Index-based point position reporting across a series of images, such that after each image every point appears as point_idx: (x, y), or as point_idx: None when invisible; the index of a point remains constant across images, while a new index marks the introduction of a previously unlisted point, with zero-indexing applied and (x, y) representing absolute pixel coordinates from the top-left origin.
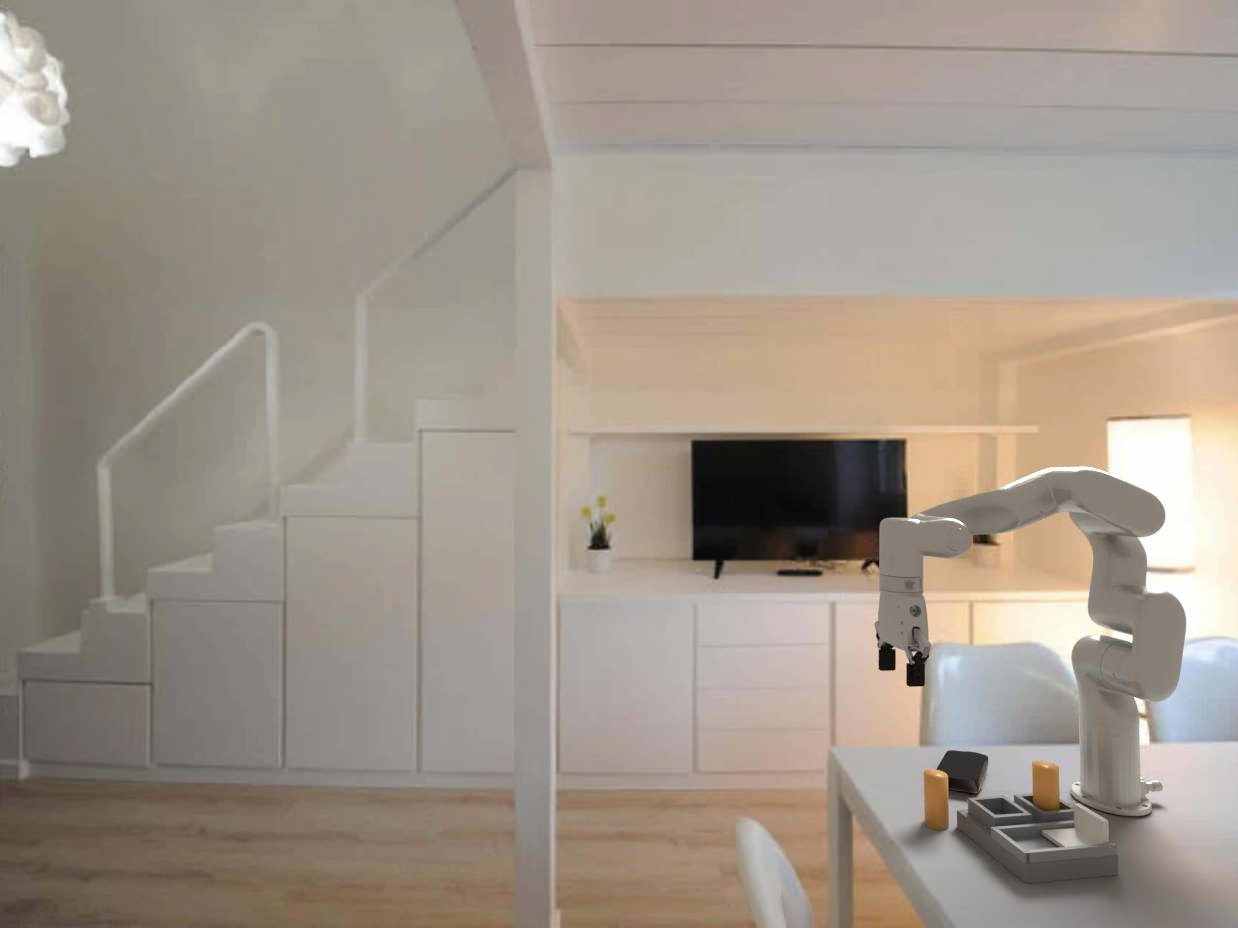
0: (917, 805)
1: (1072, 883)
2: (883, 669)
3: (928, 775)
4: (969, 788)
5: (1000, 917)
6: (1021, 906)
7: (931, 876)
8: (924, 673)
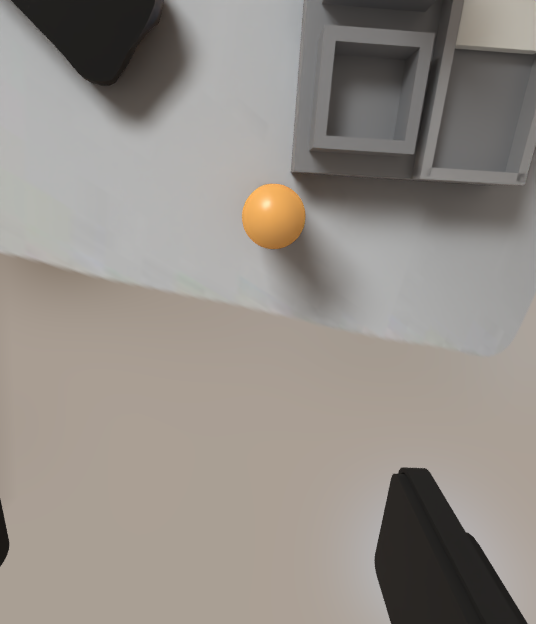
0: (191, 198)
1: None
2: (1, 540)
3: (277, 243)
4: (159, 17)
5: (532, 294)
6: (529, 242)
7: (415, 327)
8: (475, 554)
